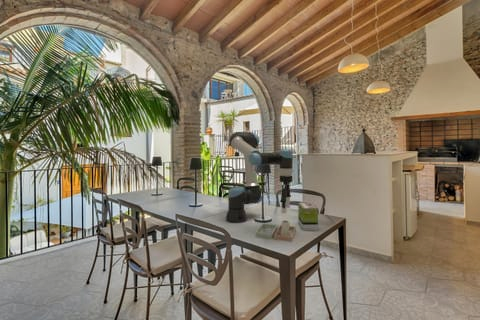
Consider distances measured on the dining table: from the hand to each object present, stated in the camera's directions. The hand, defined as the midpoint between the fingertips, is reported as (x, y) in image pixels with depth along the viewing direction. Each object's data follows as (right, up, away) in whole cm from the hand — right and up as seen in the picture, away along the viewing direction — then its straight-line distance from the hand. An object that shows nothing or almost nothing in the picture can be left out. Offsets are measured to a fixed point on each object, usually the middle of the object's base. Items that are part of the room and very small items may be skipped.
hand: (285, 210), depth 148 cm
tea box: (+17, -14, +16) cm, 28 cm away
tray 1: (-11, -15, +5) cm, 19 cm away
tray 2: (0, -15, +1) cm, 15 cm away
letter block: (0, -15, +1) cm, 15 cm away
